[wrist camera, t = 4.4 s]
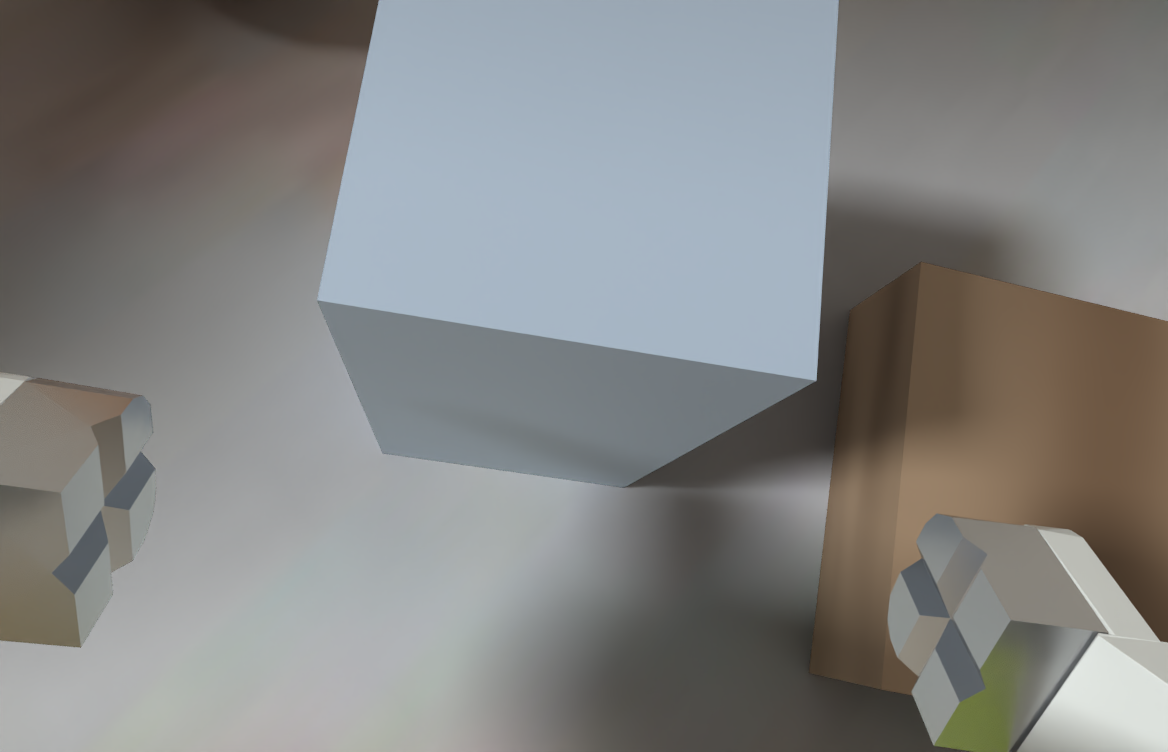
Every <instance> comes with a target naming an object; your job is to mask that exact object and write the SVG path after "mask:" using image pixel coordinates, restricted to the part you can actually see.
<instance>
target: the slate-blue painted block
mask: <svg viewBox="0 0 1168 752" xmlns="http://www.w3.org/2000/svg"><path fill="white" fill-rule="evenodd" d="M838 6H839V0H379V2H378V7H377V12H376V17H375V22H374V27H373V31H372V36H371V41H370V46H369V51H368V56H367V60H366V65H365V70H364V75H363V80H362V85H361V90H360V94H359V99H358V104H357V109H356V114H355V119H354V124H353V128H352V133H351V138H350V143H349V148H348V153H347V157H346V162H345V167H344V172H343V177H342V182H341V187H340V191H339V196H338V201H337V206H336V211H335V216H334V221H333V225H332V230H331V235H330V240H329V245H328V250H327V254H326V259H325V264H324V269H323V274H322V279H321V284H320V288H319V293H318V298H317V301H318V304H319V306H320V308H321V311H322V313H323V315H324V318H325V320H326V322H327V325H328V327H329V329H330V332H331V334H332V336H333V339H334V341H335V343H336V346H337V348H338V350H339V353H340V355H341V357H342V360H343V362H344V364H345V367H346V369H347V371H348V374H349V376H350V378H351V381H352V383H353V385H354V388H355V390H356V392H357V395H358V397H359V399H360V402H361V404H362V406H363V409H364V411H365V413H366V416H367V418H368V421H369V423H370V425H371V428H372V430H373V432H374V435H375V437H376V439H377V442H378V444H379V446H380V449H381V451H382V453H384V454H391V455H398V456H405V457H412V458H419V459H426V460H433V461H440V462H447V463H454V464H461V465H468V466H475V467H482V468H489V469H496V470H503V471H510V472H517V473H524V474H531V475H538V476H545V477H552V478H559V479H566V480H573V481H580V482H588V483H595V484H602V485H609V486H616V487H623V488H624V487H626V486H628V485H630V484H632V483H633V482H635V481H637V480H639V479H641V478H642V477H644V476H646V475H648V474H650V473H651V472H653V471H655V470H657V469H659V468H660V467H662V466H664V465H666V464H668V463H669V462H671V461H673V460H675V459H677V458H678V457H680V456H682V455H684V454H686V453H687V452H689V451H691V450H693V449H695V448H696V447H698V446H700V445H702V444H704V443H705V442H707V441H709V440H711V439H713V438H714V437H716V436H718V435H720V434H722V433H723V432H725V431H727V430H729V429H731V428H732V427H734V426H736V425H738V424H740V423H741V422H743V421H745V420H747V419H749V418H750V417H752V416H754V415H756V414H758V413H759V412H761V411H763V410H765V409H767V408H768V407H770V406H772V405H774V404H776V403H777V402H779V401H781V400H783V399H785V398H786V397H788V396H790V395H792V394H794V393H795V392H797V391H799V390H801V389H803V388H804V387H806V386H808V385H810V384H812V383H813V382H815V381H817V364H818V347H819V330H820V313H821V296H822V279H823V262H824V245H825V228H826V211H827V194H828V177H829V160H830V143H831V126H832V109H833V92H834V75H835V58H836V40H837V23H838Z"/></svg>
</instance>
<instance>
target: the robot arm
mask: <svg viewBox="0 0 1168 752" xmlns="http://www.w3.org/2000/svg"><path fill="white" fill-rule="evenodd" d="M152 433H153V426H152V416H151V406H150V403H149V402H148V401H147V400H146V399H145V397H144V396H143V395H137V394H132V393H126V392H120V391H114V390H108V389H102V388H96V387H90V386H84V385H78V384H72V383H66V382H60V381H54V380H48V379H42V378H36V379H35V378H32V377H30V376H23V375H16V374H10V373H3V372H0V640H1V641H12V642H23V643H34V644H46V645H57V646H68V647H80V648H81V647H82V645H83V643H84V642H85V640H86V638H87V637H88V635H89V633H90V632H91V630H92V628H93V627H94V625H95V623H96V622H97V620H98V618H99V617H100V615H101V613H102V612H103V610H104V608H105V607H106V605H107V603H108V602H109V600H110V598H111V597H112V595H113V589H112V577H111V572H113V571H115V570H117V569H119V568H120V567H122V566H124V565H126V564H128V563H130V562H131V561H133V559H134V558H135V556H136V554H137V552H138V551H139V549H140V547H141V545H142V543H143V542H144V540H145V537H146V534H147V531H148V528H149V525H150V521H151V518H152V515H153V512H154V504H155V495H156V473H155V468H154V467H153V465H152V464H151V463H150V462H149V461H148V459H147V458H146V457H145V456H144V455H143V454H142V452H141V450H142V448H143V447H144V445H145V444H146V442H147V441H148V439H149V438H150V436H151V435H152ZM916 543H917V546H918V549H919V552H920V555H921V559H920V560H918V561H917V562H915V563H914V564H912V565H910V566H909V567H907V568H906V569H904V570H903V571H901V572H900V574H899V576H898V578H897V581H896V583H895V585H894V587H893V590H892V592H891V594H890V600H889V609H888V618H887V620H888V627H889V634H890V639H891V642H892V645H893V647H894V650H895V652H896V655H897V658H898V659H900V660H901V661H902V662H903V663H904V664H905V665H906V666H907V667H908V668H909V669H911V670H912V671H913V672H914V673H915V674H916V675H917V676H918V678H917V680H916V682H915V685H914V687H913V689H912V691H911V692H912V695H913V697H914V700H915V702H916V704H917V707H918V709H919V712H920V714H921V717H922V719H923V721H924V724H925V726H926V729H927V731H928V733H929V736H930V738H931V741H932V743H933V746H939V747H946V748H952V749H959V750H966V751H973V752H1168V643H1166V642H1160V640H1159V639H1158V638H1157V636H1156V635H1155V634H1154V632H1153V631H1152V630H1151V628H1150V627H1149V626H1148V624H1147V623H1146V622H1145V620H1144V619H1143V618H1142V616H1141V615H1140V614H1139V612H1138V611H1137V610H1136V608H1135V607H1134V605H1133V604H1132V603H1131V601H1130V600H1129V599H1128V597H1127V596H1126V595H1125V593H1124V592H1123V591H1122V589H1121V588H1120V587H1119V585H1118V584H1117V583H1116V581H1115V580H1114V579H1113V577H1112V576H1111V575H1110V573H1109V572H1108V571H1107V569H1106V568H1105V567H1104V565H1103V564H1102V563H1101V561H1100V560H1099V559H1098V557H1097V556H1096V554H1095V553H1094V552H1093V550H1092V549H1091V548H1090V546H1089V545H1088V544H1087V542H1086V541H1085V540H1084V538H1083V537H1081V536H1079V535H1078V534H1076V533H1074V532H1073V531H1071V530H1069V529H1061V528H1053V527H1044V526H1036V525H1027V524H1025V525H1017V524H1010V523H1002V522H995V521H988V520H981V519H973V518H966V517H959V516H952V515H944V514H935V515H934V516H933V517H932V518H931V519H930V520H929V521H928V522H927V523H925V525H924V527H923V529H922V531H921V533H920V535H919V537H918V538H917V540H916Z"/></svg>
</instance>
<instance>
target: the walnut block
mask: <svg viewBox="0 0 1168 752" xmlns="http://www.w3.org/2000/svg"><path fill="white" fill-rule="evenodd" d="M935 514H944V515H952V516H959V517H966V518H973V519H981V520H988V521H995V522H1002V523H1010V524H1017V525H1025V524H1027V525H1036V526H1044V527H1053V528H1061V529H1069V530H1071V531H1073V532H1074V533H1076V534H1078V535H1079V536H1081V537H1083V538H1084V540H1085V541H1086V542H1087V544H1088V545H1089V546H1090V548H1091V549H1092V550H1093V552H1094V553H1095V554H1096V556H1097V557H1098V559H1099V560H1100V561H1101V563H1102V564H1103V565H1104V567H1105V568H1106V569H1107V571H1108V572H1109V573H1110V575H1111V576H1112V577H1113V579H1114V580H1115V581H1116V583H1117V584H1118V585H1119V587H1120V588H1121V589H1122V591H1123V592H1124V593H1125V595H1126V596H1127V597H1128V599H1129V600H1130V601H1131V603H1132V604H1133V605H1134V607H1135V608H1136V610H1137V611H1138V612H1139V614H1140V615H1141V616H1142V618H1143V619H1144V620H1145V622H1146V623H1147V624H1148V626H1149V627H1150V628H1151V630H1152V631H1153V632H1154V634H1155V635H1156V636H1157V638H1158V639H1159V640H1160V642H1166V643H1168V321H1164V320H1160V319H1156V318H1152V317H1147V316H1143V315H1139V314H1135V313H1131V312H1127V311H1123V310H1118V309H1114V308H1110V307H1106V306H1102V305H1098V304H1094V303H1090V302H1085V301H1081V300H1077V299H1073V298H1069V297H1065V296H1061V295H1056V294H1052V293H1048V292H1044V291H1040V290H1036V289H1032V288H1027V287H1023V286H1019V285H1015V284H1011V283H1007V282H1003V281H999V280H994V279H990V278H986V277H982V276H978V275H974V274H970V273H965V272H961V271H957V270H953V269H949V268H945V267H941V266H936V265H932V264H928V263H924V262H920V263H919V264H917V265H916V266H914V267H913V268H911V269H910V270H908V271H907V272H905V273H904V274H902V275H901V276H900V277H898V278H897V279H895V280H894V281H892V282H891V283H889V284H888V285H886V286H885V287H883V288H882V289H880V290H879V291H878V292H876V293H875V294H873V295H872V296H870V297H869V298H867V299H866V300H864V301H863V302H861V303H860V304H858V305H857V306H856V307H854V308H853V309H851V310H850V314H849V322H848V331H847V340H846V349H845V358H844V367H843V375H842V384H841V393H840V402H839V411H838V420H837V428H836V437H835V446H834V455H833V464H832V473H831V481H830V490H829V499H828V508H827V517H826V525H825V534H824V543H823V552H822V561H821V570H820V578H819V587H818V596H817V605H816V614H815V623H814V631H813V640H812V649H811V658H810V667H809V673H811V674H816V675H820V676H824V677H829V678H833V679H837V680H842V681H846V682H850V683H855V684H859V685H863V686H868V687H872V688H876V689H881V690H886V691H891V692H897V693H902V694H907V695H912V692H911V691H912V689H913V687H914V685H915V682H916V680H917V678H918V676H917V675H916V674H915V673H914V672H913V671H912V670H911V669H909V668H908V667H907V666H906V665H905V664H904V663H903V662H902V661H901V660H900V659H898V658H897V655H896V652H895V650H894V647H893V645H892V642H891V639H890V634H889V627H888V620H887V618H888V609H889V600H890V594H891V592H892V590H893V587H894V585H895V583H896V581H897V578H898V576H899V574H900V572H901V571H903V570H904V569H906V568H907V567H909V566H910V565H912V564H914V563H915V562H917V561H918V560H920V559H921V555H920V552H919V549H918V546H917V543H916V540H917V538H918V537H919V535H920V533H921V531H922V529H923V527H924V525H925V523H927V522H928V521H929V520H930V519H931V518H932V517H933V516H934V515H935Z"/></svg>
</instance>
